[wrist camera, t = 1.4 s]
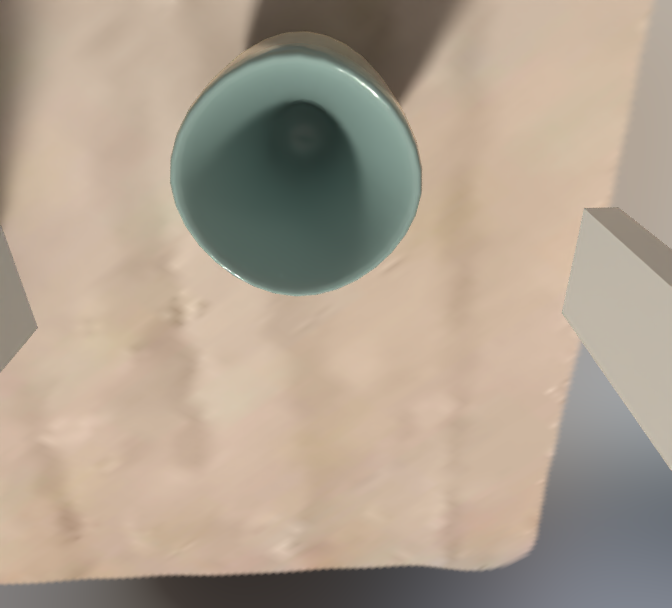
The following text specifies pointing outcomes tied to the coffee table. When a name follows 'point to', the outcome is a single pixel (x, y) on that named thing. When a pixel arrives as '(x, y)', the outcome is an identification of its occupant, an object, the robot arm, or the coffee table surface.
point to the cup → (297, 166)
